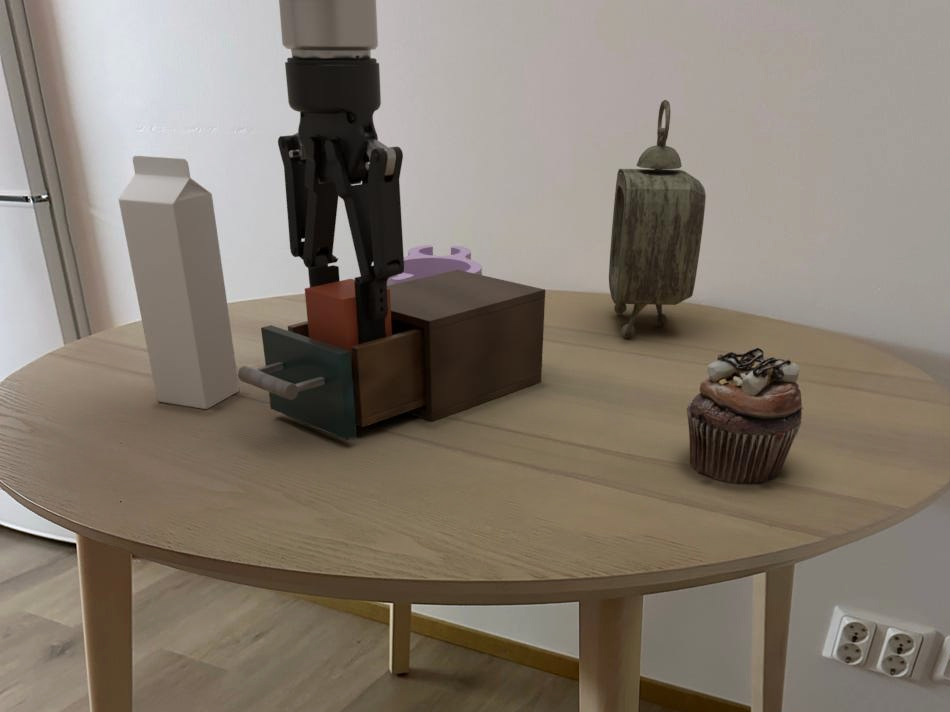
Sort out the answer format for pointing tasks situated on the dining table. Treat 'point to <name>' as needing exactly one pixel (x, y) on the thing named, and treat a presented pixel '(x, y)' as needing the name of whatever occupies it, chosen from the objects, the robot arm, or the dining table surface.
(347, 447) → the dining table surface
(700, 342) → the dining table surface
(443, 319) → the cabinet
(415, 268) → the clip
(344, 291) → the block
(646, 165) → the tabletop clock
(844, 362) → the dining table surface
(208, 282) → the milk
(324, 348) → the drawer
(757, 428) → the cupcake
